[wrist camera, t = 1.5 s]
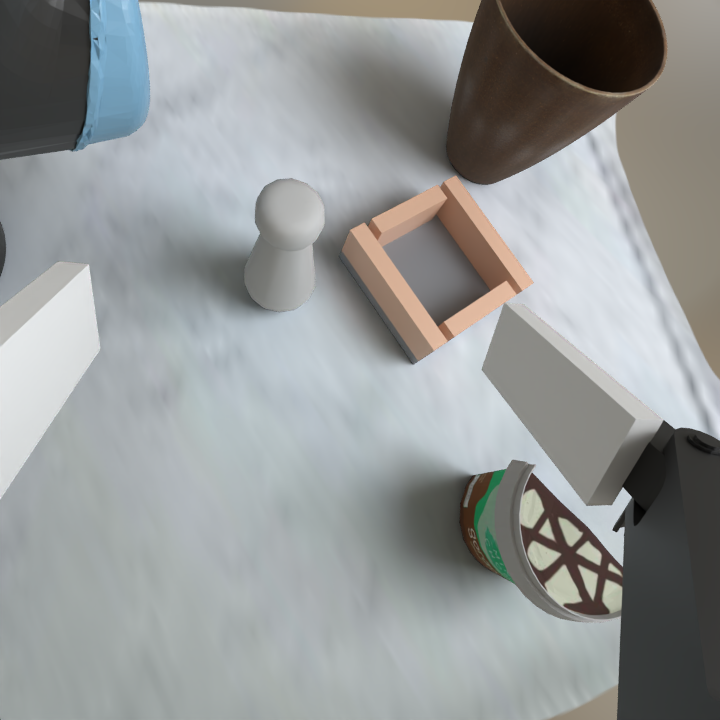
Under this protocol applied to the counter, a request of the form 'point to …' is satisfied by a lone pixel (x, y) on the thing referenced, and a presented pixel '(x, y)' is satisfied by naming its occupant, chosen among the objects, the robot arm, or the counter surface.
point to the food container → (539, 545)
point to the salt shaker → (284, 245)
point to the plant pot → (547, 78)
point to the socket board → (432, 267)
